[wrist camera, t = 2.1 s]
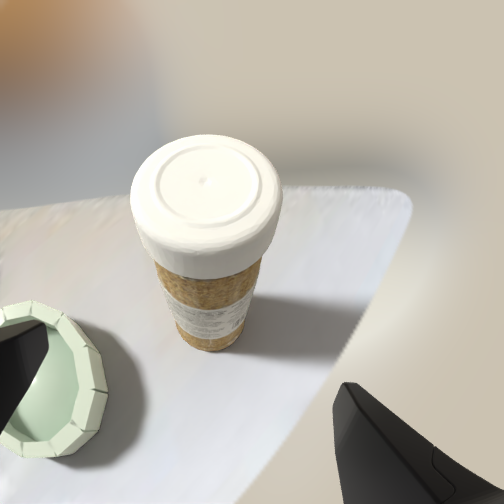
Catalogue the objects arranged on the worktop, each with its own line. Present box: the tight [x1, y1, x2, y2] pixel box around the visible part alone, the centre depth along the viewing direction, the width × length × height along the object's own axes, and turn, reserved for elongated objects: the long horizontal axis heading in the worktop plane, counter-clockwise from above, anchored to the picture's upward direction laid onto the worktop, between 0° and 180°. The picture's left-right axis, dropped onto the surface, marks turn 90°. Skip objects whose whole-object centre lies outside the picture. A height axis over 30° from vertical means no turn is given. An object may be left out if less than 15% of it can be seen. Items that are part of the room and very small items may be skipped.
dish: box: [0, 300, 108, 458], centre depth 16 cm, size 10×10×2 cm
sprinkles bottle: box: [130, 135, 283, 351], centre depth 15 cm, size 5×5×14 cm
